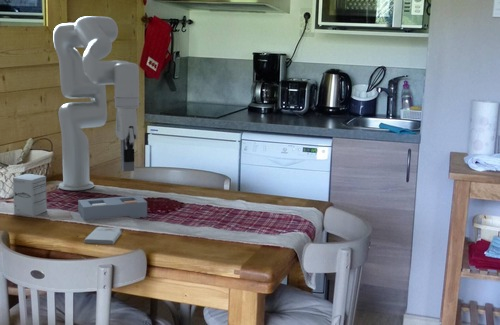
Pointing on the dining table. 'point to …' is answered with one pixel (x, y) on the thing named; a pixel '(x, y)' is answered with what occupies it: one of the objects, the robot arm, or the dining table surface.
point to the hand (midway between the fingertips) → (127, 160)
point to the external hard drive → (104, 235)
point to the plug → (124, 165)
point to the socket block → (113, 207)
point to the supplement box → (29, 194)
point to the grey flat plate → (60, 216)
